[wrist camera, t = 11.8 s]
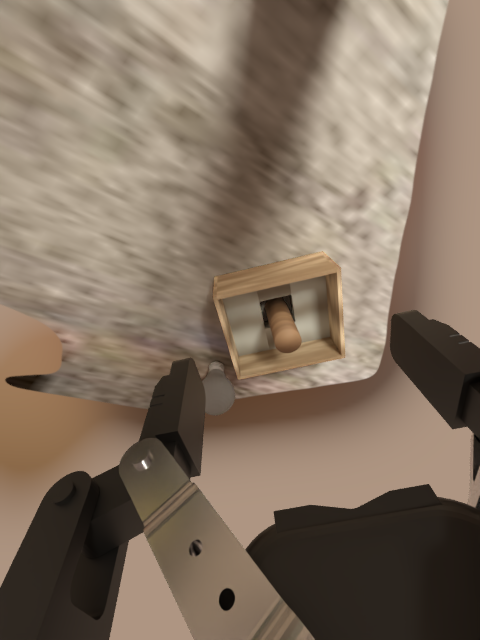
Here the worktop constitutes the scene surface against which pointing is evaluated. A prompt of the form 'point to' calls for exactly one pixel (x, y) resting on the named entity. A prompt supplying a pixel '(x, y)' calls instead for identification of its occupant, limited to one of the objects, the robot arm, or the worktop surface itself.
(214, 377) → the light bulb
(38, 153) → the worktop surface
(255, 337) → the crate
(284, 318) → the peg
